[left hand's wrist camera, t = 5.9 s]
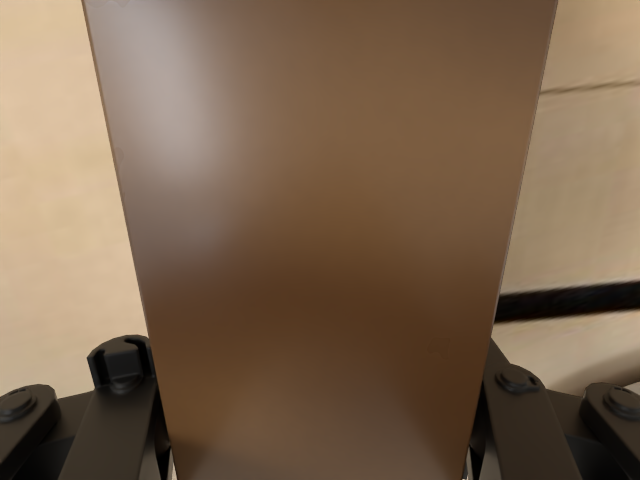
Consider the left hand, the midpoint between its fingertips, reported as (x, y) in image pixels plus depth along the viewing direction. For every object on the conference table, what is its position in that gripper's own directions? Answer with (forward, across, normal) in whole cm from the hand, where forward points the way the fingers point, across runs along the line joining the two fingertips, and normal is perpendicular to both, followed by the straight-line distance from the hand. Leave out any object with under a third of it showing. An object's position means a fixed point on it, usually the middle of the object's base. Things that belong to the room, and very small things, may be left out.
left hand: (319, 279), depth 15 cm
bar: (+1, 0, -7) cm, 7 cm away
